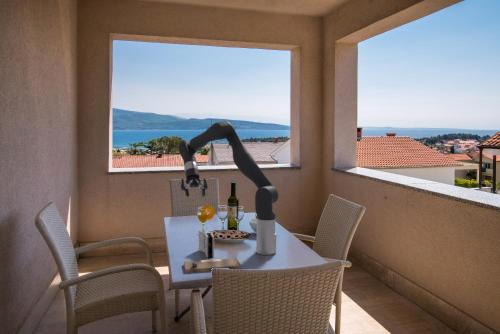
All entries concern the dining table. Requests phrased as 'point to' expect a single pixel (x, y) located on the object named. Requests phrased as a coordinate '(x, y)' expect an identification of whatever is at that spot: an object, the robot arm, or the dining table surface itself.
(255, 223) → the chinaware
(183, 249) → the dining table surface
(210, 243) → the hinge
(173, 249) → the dining table surface
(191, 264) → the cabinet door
